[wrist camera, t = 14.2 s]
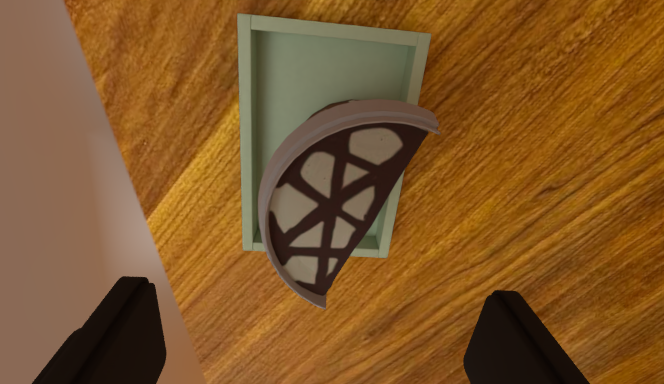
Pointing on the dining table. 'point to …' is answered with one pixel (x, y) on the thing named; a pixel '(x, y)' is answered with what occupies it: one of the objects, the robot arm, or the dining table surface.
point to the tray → (316, 95)
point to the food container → (334, 186)
